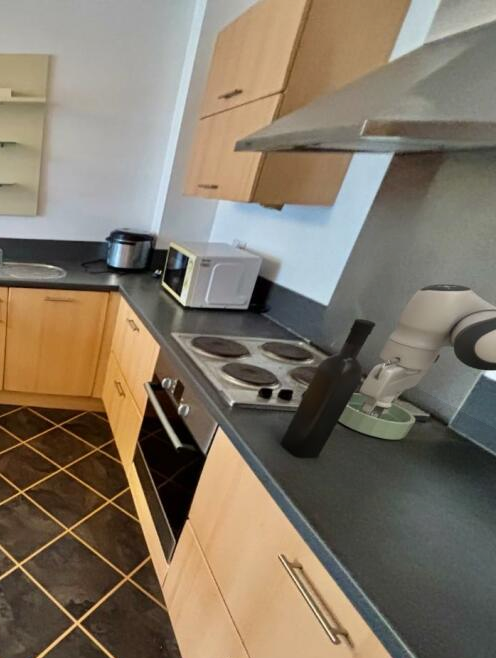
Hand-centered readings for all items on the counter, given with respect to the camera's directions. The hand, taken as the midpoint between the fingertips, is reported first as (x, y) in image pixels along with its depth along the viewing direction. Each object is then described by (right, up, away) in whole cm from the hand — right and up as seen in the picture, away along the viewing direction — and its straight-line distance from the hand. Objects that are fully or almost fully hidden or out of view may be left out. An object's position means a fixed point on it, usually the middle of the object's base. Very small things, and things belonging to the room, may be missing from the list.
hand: (377, 407), depth 101 cm
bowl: (-1, -5, +2) cm, 5 cm away
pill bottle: (-1, -4, +2) cm, 5 cm away
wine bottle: (-27, -9, -9) cm, 30 cm away
